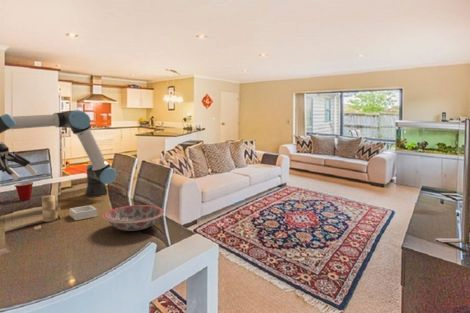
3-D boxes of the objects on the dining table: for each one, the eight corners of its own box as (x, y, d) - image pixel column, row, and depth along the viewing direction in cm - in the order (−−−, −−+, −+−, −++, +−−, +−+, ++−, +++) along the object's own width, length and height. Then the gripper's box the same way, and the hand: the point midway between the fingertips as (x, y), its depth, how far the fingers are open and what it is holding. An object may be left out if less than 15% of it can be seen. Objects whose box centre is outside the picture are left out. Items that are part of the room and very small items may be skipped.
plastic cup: (17, 198, 198) (16, 181, 197) (36, 197, 202) (35, 180, 201) (12, 202, 188) (11, 184, 187) (32, 201, 193) (31, 183, 191)
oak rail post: (54, 217, 161) (53, 194, 159) (57, 220, 156) (55, 196, 155) (41, 219, 157) (40, 196, 155) (44, 222, 152) (42, 198, 151)
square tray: (91, 211, 173) (90, 205, 172) (97, 216, 164) (97, 209, 164) (69, 215, 165) (69, 208, 164) (75, 220, 156) (75, 213, 156)
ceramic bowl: (143, 215, 168) (143, 202, 167) (175, 227, 149) (175, 212, 148) (92, 228, 145) (92, 213, 144) (123, 244, 127) (122, 226, 126)
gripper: (9, 150, 164) (37, 176, 166) (-30, 154, 139) (4, 185, 141) (18, 141, 164) (46, 168, 166) (-19, 143, 139) (14, 175, 141)
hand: (26, 176), depth 154 cm, fingers open, 13 cm apart
